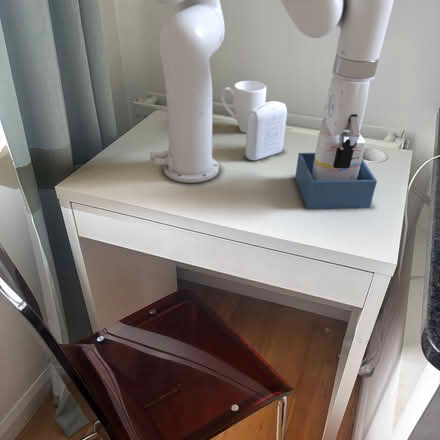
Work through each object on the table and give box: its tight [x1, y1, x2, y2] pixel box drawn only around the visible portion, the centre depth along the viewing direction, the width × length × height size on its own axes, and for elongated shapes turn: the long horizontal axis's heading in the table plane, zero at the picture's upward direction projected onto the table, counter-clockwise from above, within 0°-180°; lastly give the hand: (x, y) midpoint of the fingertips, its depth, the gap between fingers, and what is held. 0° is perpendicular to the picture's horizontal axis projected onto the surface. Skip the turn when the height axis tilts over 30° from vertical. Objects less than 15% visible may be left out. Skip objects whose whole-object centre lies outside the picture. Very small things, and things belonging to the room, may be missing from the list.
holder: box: [294, 152, 378, 210], centre depth 96 cm, size 13×13×6 cm
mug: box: [220, 80, 267, 134], centre depth 120 cm, size 12×8×11 cm
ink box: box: [311, 118, 367, 181], centre depth 93 cm, size 9×5×15 cm, turn 93°
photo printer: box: [244, 100, 288, 161], centre depth 108 cm, size 10×4×12 cm, turn 128°
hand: (334, 156), depth 93 cm, fingers open, 9 cm apart
